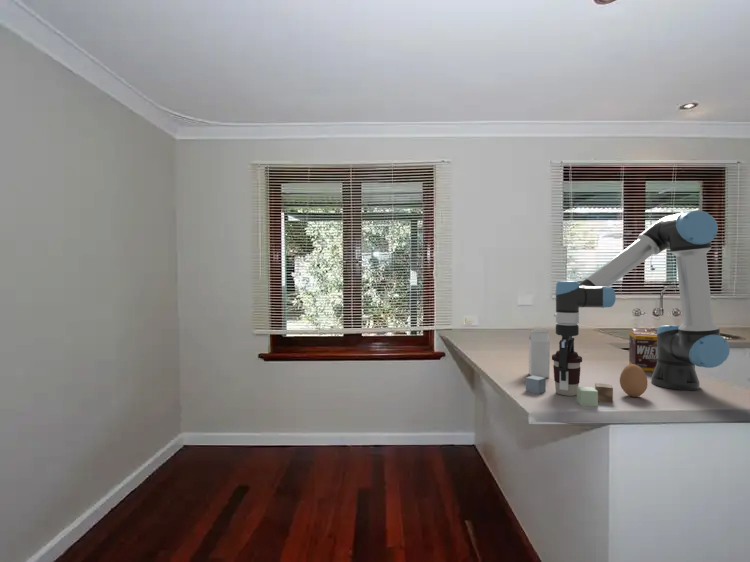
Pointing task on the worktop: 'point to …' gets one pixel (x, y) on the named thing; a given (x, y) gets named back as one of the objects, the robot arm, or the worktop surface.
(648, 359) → the supplement box
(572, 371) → the coffee cup
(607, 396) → the walnut cube
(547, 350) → the milk carton
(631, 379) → the egg
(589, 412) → the worktop surface
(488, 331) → the worktop surface
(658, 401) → the worktop surface
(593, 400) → the sage painted cube
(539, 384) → the slate painted cube
